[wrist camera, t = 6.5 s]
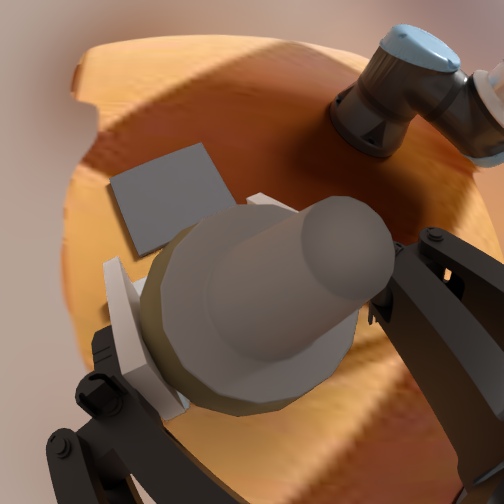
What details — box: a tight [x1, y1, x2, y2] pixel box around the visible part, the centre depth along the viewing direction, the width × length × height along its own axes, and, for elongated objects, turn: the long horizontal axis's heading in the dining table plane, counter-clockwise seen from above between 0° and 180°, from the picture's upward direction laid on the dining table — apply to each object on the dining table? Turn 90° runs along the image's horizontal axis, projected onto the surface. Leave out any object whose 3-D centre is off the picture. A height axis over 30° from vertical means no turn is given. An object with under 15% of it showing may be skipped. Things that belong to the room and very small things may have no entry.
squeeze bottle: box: [140, 196, 395, 417], centre depth 11 cm, size 8×8×18 cm
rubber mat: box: [109, 143, 237, 258], centre depth 38 cm, size 14×12×1 cm
